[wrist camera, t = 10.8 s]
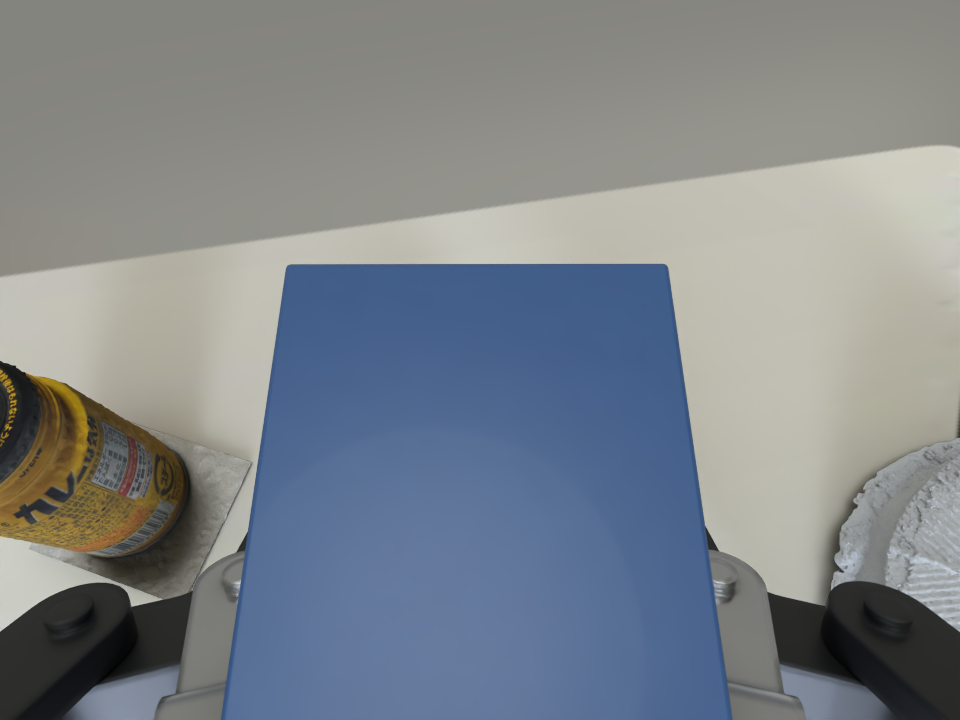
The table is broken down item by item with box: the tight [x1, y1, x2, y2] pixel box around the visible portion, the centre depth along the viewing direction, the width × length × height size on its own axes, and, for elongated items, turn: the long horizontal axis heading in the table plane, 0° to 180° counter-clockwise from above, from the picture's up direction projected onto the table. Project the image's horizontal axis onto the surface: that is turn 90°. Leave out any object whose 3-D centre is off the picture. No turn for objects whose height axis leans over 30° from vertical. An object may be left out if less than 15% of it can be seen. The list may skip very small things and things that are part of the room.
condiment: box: [0, 361, 252, 600], centre depth 26 cm, size 7×8×12 cm
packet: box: [221, 264, 733, 720], centre depth 11 cm, size 4×6×10 cm
